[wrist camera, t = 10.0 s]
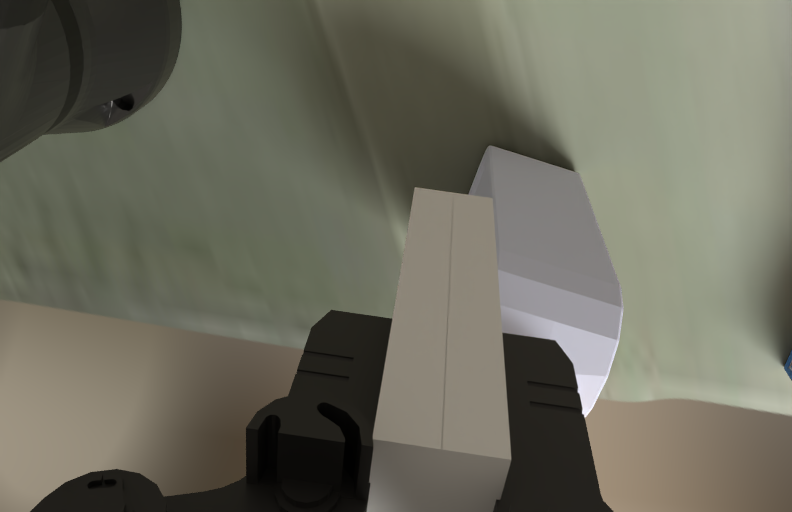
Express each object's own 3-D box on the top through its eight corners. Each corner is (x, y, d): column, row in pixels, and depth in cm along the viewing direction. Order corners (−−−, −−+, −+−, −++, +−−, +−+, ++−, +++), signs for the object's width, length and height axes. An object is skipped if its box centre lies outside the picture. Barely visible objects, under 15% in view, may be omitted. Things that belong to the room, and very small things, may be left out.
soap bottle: (477, 137, 43) (484, 369, 23) (580, 170, 43) (674, 425, 23) (433, 253, 47) (408, 530, 27) (527, 281, 48) (568, 574, 28)
